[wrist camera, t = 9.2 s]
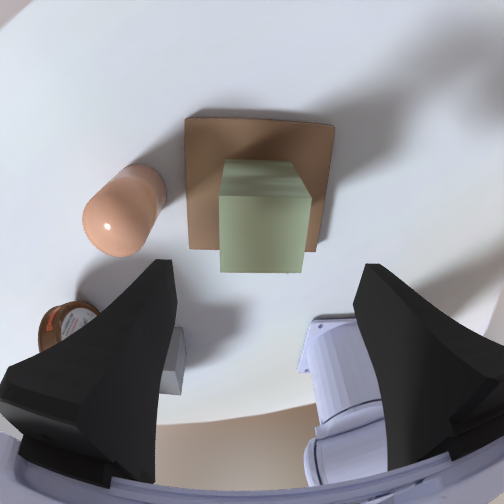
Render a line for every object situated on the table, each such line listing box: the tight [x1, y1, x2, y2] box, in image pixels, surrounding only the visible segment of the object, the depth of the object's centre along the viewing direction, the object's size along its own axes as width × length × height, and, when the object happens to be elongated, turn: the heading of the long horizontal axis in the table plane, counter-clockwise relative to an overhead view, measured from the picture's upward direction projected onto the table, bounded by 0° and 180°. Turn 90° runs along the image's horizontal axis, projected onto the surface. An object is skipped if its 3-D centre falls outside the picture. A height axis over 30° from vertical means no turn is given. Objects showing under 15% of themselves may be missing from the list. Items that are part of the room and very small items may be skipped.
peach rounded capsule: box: [82, 164, 167, 257], centre depth 17 cm, size 4×4×5 cm
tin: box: [38, 301, 100, 353], centre depth 24 cm, size 15×3×8 cm, turn 21°
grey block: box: [159, 327, 186, 395], centre depth 25 cm, size 4×4×5 cm
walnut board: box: [185, 118, 335, 252], centre depth 19 cm, size 9×9×1 cm
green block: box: [219, 159, 312, 273], centre depth 16 cm, size 4×4×6 cm
